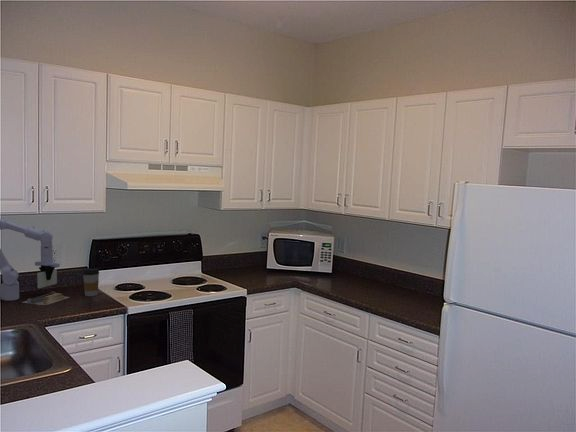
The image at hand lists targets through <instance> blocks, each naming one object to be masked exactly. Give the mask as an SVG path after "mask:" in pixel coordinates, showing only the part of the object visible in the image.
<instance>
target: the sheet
mask: <svg viewBox="0 0 576 432" xmlns="http://www.w3.org/2000/svg"><path fill="white" fill-rule="evenodd" d="M57 272H58V268H55V269H54V271H53V273H52V276H51V280H47V279H46V272H45V271H44V272H41V271H40V272H37V276H36V277H37V278H36V279H37V280H36V281H37V289H42V288H46V287H49V286H53V285H56V284H58V273H57Z"/></svg>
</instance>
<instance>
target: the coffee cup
mask: <svg viewBox="0 0 576 432" xmlns="http://www.w3.org/2000/svg"><path fill="white" fill-rule="evenodd" d="M82 276H83V277H82V279H83V290H84V291H83V292H84V296H85V297H95V296H98V294H99V292H98V291H99V283H100V282H99V280H100V279H99V277H100V271H99V268H96V267H90V268H84V269H83V272H82Z"/></svg>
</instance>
